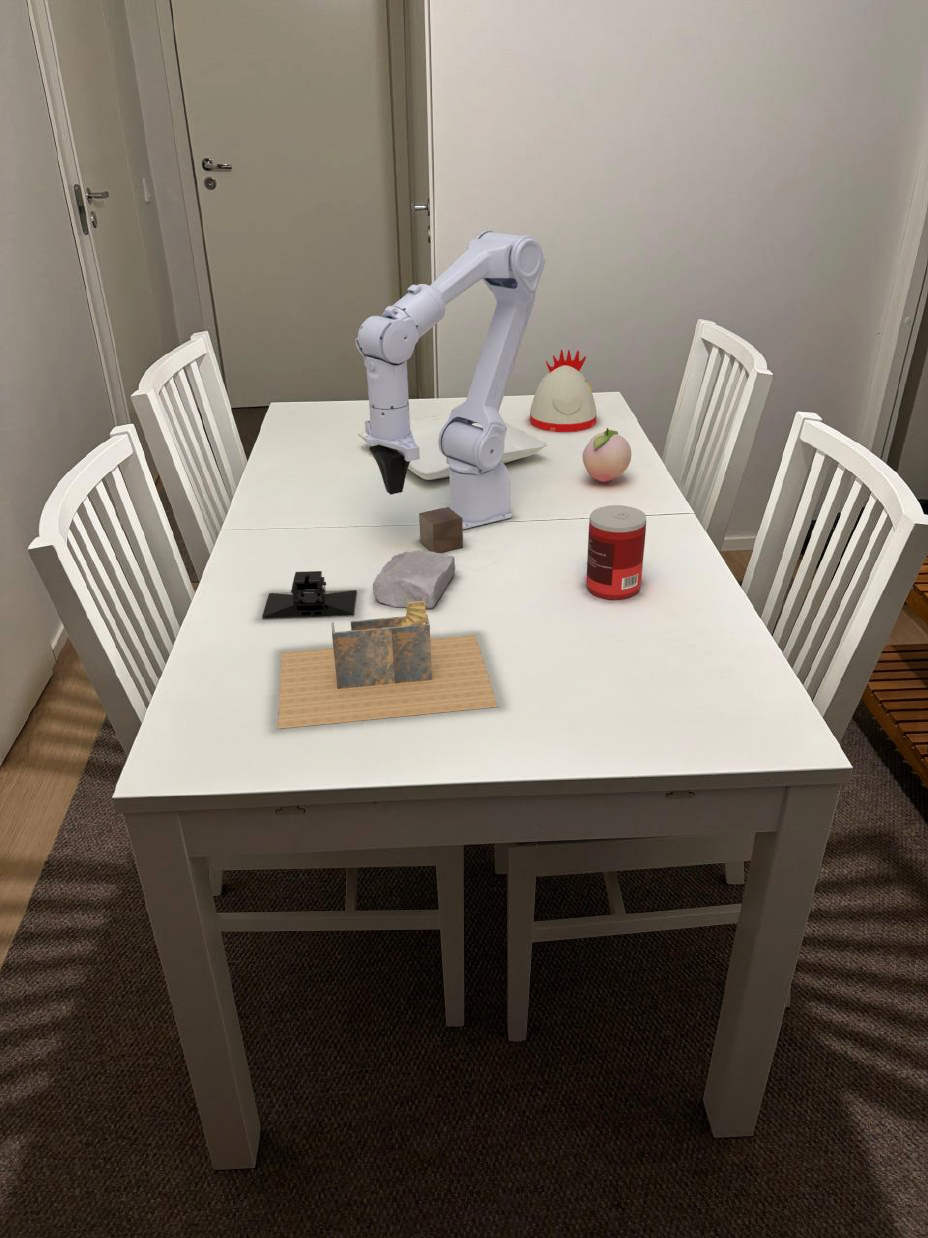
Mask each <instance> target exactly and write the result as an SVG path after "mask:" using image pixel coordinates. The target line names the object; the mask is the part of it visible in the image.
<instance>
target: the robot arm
mask: <svg viewBox="0 0 928 1238" xmlns="http://www.w3.org/2000/svg"><path fill="white" fill-rule="evenodd" d="M545 264H546V258H545V255H544V252H543V249H542V246H541V243H540V242H539V240H538V239H537V238H536V237H535V236H533V235H529V234H527V235H520V234H511V233H505V232H504V233H503V232H495V231H493V230H489V229H487V230H483V231H481V232H480V233H479V234H478V235H477V236H476V237H474V238H473V239H471V240H469V241H468V242H467V247H466V250H465V252H463V253H462V254H461V256H459V257H458V258H457V259H456V260H455V261H454V262H452V264H451V265H450V266H449V267H448V268H447V269H445V270H444V271H443V273H441V274H440V276H438V277H437V278H436V279H435V280H434V281H433V282H432V283H431V284H425V283H419V284H411V285H410V286H409V287H408V288H407V289H406V290H407V293H406V294H404V295H403V296H401V298H400V299H399V300H397V301H396V302H395V303H393V304H392V305H388V306H387V307H386V308H385V309H384V312H382V314H381V316H380V315H371V316H369V317H367V318H365V320H364V321H363V322H362V324H360V327H359V329H358V332H357V337H356V338H354V342H355V347H356V349H357V351H358V352H359V354H360V355H361V356H362V358H363V359H362V360H363V367H365V369H366V379H367V380H366V381H367V392H368V405H369V406H368V407H369V408H368V409H369V420H365V421H364V429H365V431H364V432H366V434H368V435H367V436H365V437H364V440H363V442H365V443H366V442H367V444H368V445H369V444H374V443H376V444H378V445H375V446H369V452H370V454H371V455H372V456H373V459H374V461H375V462H376V464H377V466H378V469H379V473H380V475H381V478H382V481H383V485H384V488H385V490H386V493H388V494H389V495H396V494H401V493H403V491H404V488H405V487H404V486H405V481H406V476H407V472H408V470H409V469H408V466H409V464H410V461H413V460H418V459H420V451H419V446H418V445H417V444H416V443H415V440H414V437H413V434H412V432H411V430H410V421H411V416H410V398H409V378H408V360H409V359H411V357H412V355H413V354H414V350H415V346H416V344H417V343H418V342H419V341H420V340H419V339H420V338H421V337H422V336H424V335H425V334H426V333H428V331H430V330H431V329H432V328H433V327H434V326H436V325H437V324H438V323H439V322H440V321H441V320H443V319H444V317H445V314H446V305H448V304H449V303H451V302H452V301H454V300H455V299H456V298H458V297H459V296H460V295H462V294H463V293H465V292H466V291H468V290H469V289H470V288H472V287H473V286H475V284H477V283H478V282H480V281H481V280H482V281H483V282H484V283H485V285H486V286H487V288H488V289H489V291H490V292H491V293H492V294H493V296H494V299H495V301H496V306H495V307H494V312H493V316H492V318H491V321H490V324H489V327H488V330H487V333H486V337H485V340H484V342H483V346H482V349H481V352H480V355H479V359H478V362H477V365H476V368H475V371H474V373H473V377H472V380H471V384H470V386H469V390H468V392H467V396H466V399H465V401H463V402H462V403H460V404H459V405H457V406H456V407H453V409H451V410H450V413H451V414H450V417H449V419H448V421H447V423H446V424H445V425H444V426H443V428H442V429H441V432H440V434H439V439H438V445H439V449H440V451H441V453H442V454H443V455H444V456H446V463H447V464H449V476H450V477H449V504H450V505H449V508H450V509H451V510H453V511H454V512H455V513H457V514H458V515H459V516H461V517H462V521H463V530H467V529H471V528H474V527H478V526H483V525H487V524H491V523H495V522H498V521H503V520H507V519H511V518H513V514H512V513H510V512H511V511H510V510H511V506H510V503H511V481H510V474H509V470H508V468H507V466H506V465H505V464H504V463H503V462H501V459H502V456H503V453H504V439H505V435H506V431H507V427H506V425H505V423H506V422H505V421H504V419H503V417H502V416H501V414H500V409H501V406H502V403H503V399H504V396H505V394H506V392H507V391H506V390H507V388H508V384H509V381H510V378H511V375H512V372H513V369H514V366H515V363H516V360H517V357H518V354H519V351H520V347H521V344H522V342H523V339H524V336H525V333H526V329H527V326H528V323H529V320H530V317H531V314H532V312H533V307H534V305H535V301H536V292H537V288H538V285H539V282H540V279H541V277H542V273H543V272H544V271H543V270H544V267H545ZM504 422H505V423H504ZM474 423H479V424H481V425H482V427H483V428H481V427H477V426H474V425H472V424H474Z"/></svg>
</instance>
